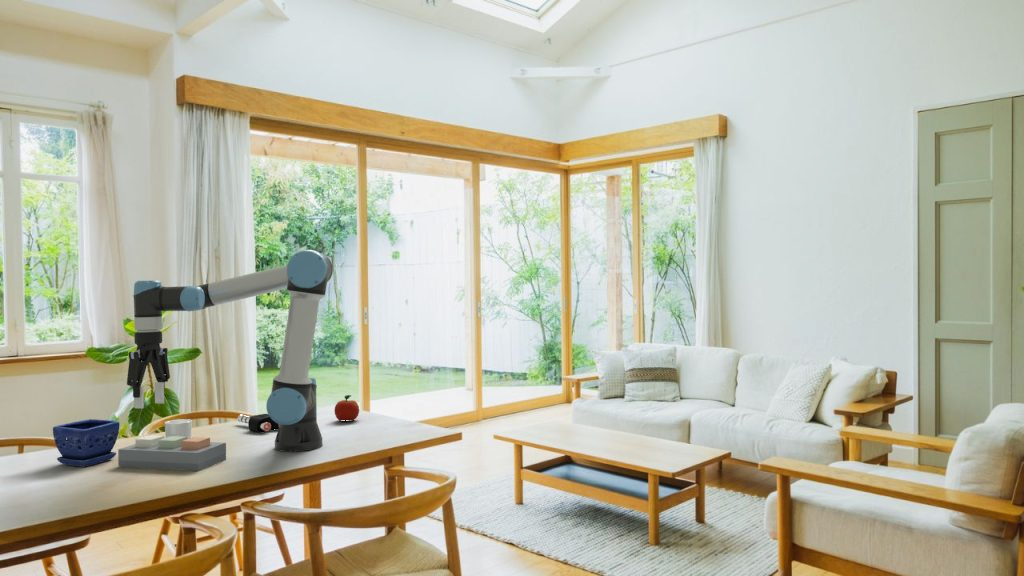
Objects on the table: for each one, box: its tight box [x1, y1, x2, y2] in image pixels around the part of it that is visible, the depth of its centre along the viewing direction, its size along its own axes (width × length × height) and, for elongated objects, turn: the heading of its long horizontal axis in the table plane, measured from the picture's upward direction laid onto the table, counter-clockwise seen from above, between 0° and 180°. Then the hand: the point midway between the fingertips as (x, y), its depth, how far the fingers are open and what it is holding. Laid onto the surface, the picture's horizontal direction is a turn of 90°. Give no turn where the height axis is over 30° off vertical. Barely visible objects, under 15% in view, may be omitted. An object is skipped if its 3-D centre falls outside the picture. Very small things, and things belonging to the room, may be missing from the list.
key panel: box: [117, 441, 227, 472], centre depth 208 cm, size 27×13×5 cm, turn 78°
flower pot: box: [52, 418, 120, 468], centre depth 211 cm, size 13×13×12 cm
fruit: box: [334, 394, 360, 421], centre depth 271 cm, size 10×10×10 cm
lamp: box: [237, 413, 280, 434], centre depth 259 cm, size 11×5×25 cm
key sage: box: [159, 436, 187, 449], centre depth 208 cm, size 6×6×4 cm
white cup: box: [164, 418, 193, 439], centre depth 222 cm, size 8×8×10 cm
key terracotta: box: [182, 436, 211, 450], centre depth 207 cm, size 6×6×4 cm
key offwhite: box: [135, 434, 165, 448], centre depth 210 cm, size 6×6×4 cm
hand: (149, 405), depth 210 cm, fingers open, 8 cm apart
